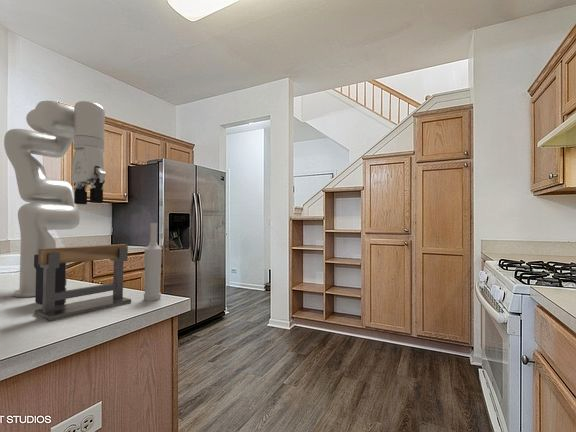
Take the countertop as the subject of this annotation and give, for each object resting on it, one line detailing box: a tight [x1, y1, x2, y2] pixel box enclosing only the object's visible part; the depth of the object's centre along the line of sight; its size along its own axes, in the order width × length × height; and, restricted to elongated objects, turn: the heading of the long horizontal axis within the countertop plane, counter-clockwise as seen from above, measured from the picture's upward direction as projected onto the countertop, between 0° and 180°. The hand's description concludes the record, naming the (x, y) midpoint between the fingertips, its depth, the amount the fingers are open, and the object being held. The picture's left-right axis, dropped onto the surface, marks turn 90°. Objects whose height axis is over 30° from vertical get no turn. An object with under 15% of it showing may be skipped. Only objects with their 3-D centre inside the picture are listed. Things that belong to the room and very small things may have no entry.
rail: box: [38, 243, 129, 265], centre depth 87 cm, size 3×22×4 cm, turn 147°
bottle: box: [143, 222, 163, 302], centre depth 98 cm, size 5×5×25 cm
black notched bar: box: [34, 254, 68, 306], centre depth 91 cm, size 11×4×15 cm, turn 63°
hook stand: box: [33, 248, 132, 322], centre depth 87 cm, size 10×21×17 cm, turn 147°
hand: (88, 203), depth 87 cm, fingers open, 9 cm apart
